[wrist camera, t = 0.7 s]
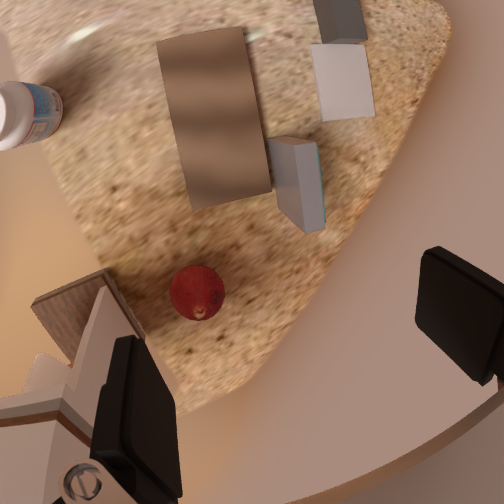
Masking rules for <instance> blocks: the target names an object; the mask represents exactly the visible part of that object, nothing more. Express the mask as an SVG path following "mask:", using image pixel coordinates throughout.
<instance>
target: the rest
mask: <svg viewBox="0 0 504 504" xmlns="http://www.w3.org/2000/svg"><path fill="white" fill-rule="evenodd" d="M156 46H157V51H158V56H159V62H160V67H161V72H162V77H163V82H164V87H165V92H166V97H167V102H168V106H169V111H170V116H171V120H172V125H173V129H174V134H175V138H176V143H177V147H178V151H179V156H180V160H181V164H182V169H183V173H184V177H185V181H186V185H187V189H188V193H189V197H190V201H191V205H192V209H193V211H195V210H199V209H203V208H207V207H211V206H215V205H219V204H223V203H227V202H231V201H235V200H239V199H243V198H247V197H252V196H256V195H260V194H265V193H269V192H272V188H271V182H270V176H269V170H268V164H267V158H266V152H265V146H264V141H263V135H262V129H261V124H260V118H259V113H258V107H257V102H256V96H255V91H254V86H253V81H252V75H251V70H250V65H249V60H248V55H247V50H246V45H245V40H244V35H243V30H242V27H234V28H226V29H219V30H212V31H206V32H200V33H195V34H190V35H184V36H180V37H175V38H170V39H166V40H162V41H158V42H156Z"/></svg>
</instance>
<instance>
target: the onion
mask: <svg viewBox="0 0 504 504" xmlns="http://www.w3.org/2000/svg"><path fill="white" fill-rule="evenodd" d="M170 296H171V300H172V303H173V306H174V307H175V309H176V310H177V311H178V312H179V313H180V314H181V315H182V316H184V317H186V318H188V319H189V320H195V321H201V320H207V319H209V318H211V317H213V316H214V315H215V314H216V313H217V312H218V311H219V310H220V309H221V307H222V304H223V301H224V298H225V290H224V284H223V281H222V279H221V278H220V277H219V275H218V274H217V273H216V272H215V271H214V270H212V269H210V268H208V267H206V266H199V265H193V266H189V267H185V268H184V269H182V270H181V271H179V272H178V273H177V274H176V275H175V277H174V278H173V280H172V282H171V288H170Z"/></svg>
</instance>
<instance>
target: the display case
mask: <svg viewBox="0 0 504 504" xmlns="http://www.w3.org/2000/svg"><path fill="white" fill-rule="evenodd" d="M31 309H32V310H33V312H34V313H35V315H36V316H37V318H38V319H39V320H40V322H41V323H42V325H43V326H44V327H45V329H46V330H47V332H48V333H49V334H50V336H51V337H52V338H53V340H54V341H55V342H56V344H57V345H58V346H59V347H60V349H61V350H62V352H63V353H64V354H65V355H66V357H67V358H68V359H69V360H70V361H71V364H69V365H66V364H65V363H63V362H62V361H60V360H58V359H57V358H55V357H53V356H51V355H49V354H45V353H38V354H37V355H36V357H35V359H34V362H33V365H32V367H31V369H30V372H29V374H28V377H27V380H26V382H25V385H24V388H23V390H22V393H21V394H18V395H13V396H8V397H4V398H0V504H52V503H53V502H54V501H55V500H57V499H58V498H59V497H60V496H61V494H60V492H59V485H58V482H59V478H60V475H61V473H62V471H63V470H64V468H65V467H66V466H67V465H68V464H70V463H71V462H73V461H75V460H78V459H82V458H86V459H89V455H90V447H91V440H92V434H93V428H94V421H95V416H96V410H97V405H98V399H99V394H100V390H101V387H102V386H103V385H104V384H106V380H107V375H108V370H109V365H110V361H111V356H112V352H113V347H114V343H115V340H116V338H119V337H123V336H128V335H133V334H134V335H135V336H136V337H137V338H142V339H143V340H144V342H145V334H144V333H143V331H142V330H141V328H140V327H139V325H138V324H137V322H136V320H135V319H134V317H133V316H132V314H131V312H130V311H129V309H128V307H127V306H126V304H125V302H124V301H123V299H122V297H121V296H120V294H119V292H118V290H117V289H116V287H115V285H114V283H113V282H112V280H111V278H110V276H109V274H108V273H107V271H106V269H105V268H104V269H102V270H100V271H97V272H95V273H93V274H90V275H88V276H85V277H83V278H81V279H78V280H76V281H74V282H71V283H69V284H67V285H65V286H62V287H60V288H58V289H55V290H53V291H51V292H49V293H47V294H44V295H42V296H40V297H38V298H36V299H35V300H34V302H33V304H32V305H31Z"/></svg>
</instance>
